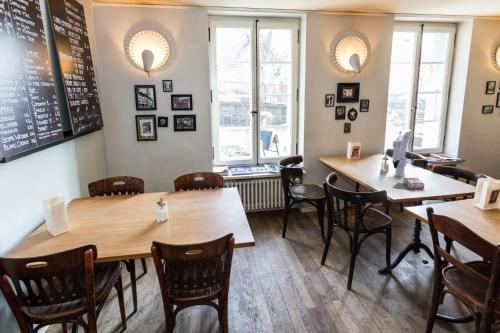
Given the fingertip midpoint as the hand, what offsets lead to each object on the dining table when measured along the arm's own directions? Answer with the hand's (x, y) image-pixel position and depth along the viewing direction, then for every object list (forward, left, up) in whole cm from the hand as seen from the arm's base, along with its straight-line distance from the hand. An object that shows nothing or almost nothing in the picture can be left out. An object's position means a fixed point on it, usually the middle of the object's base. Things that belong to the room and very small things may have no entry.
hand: (395, 168), depth 287 cm
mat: (+19, +13, -10) cm, 25 cm away
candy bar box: (+7, +14, -8) cm, 17 cm away
